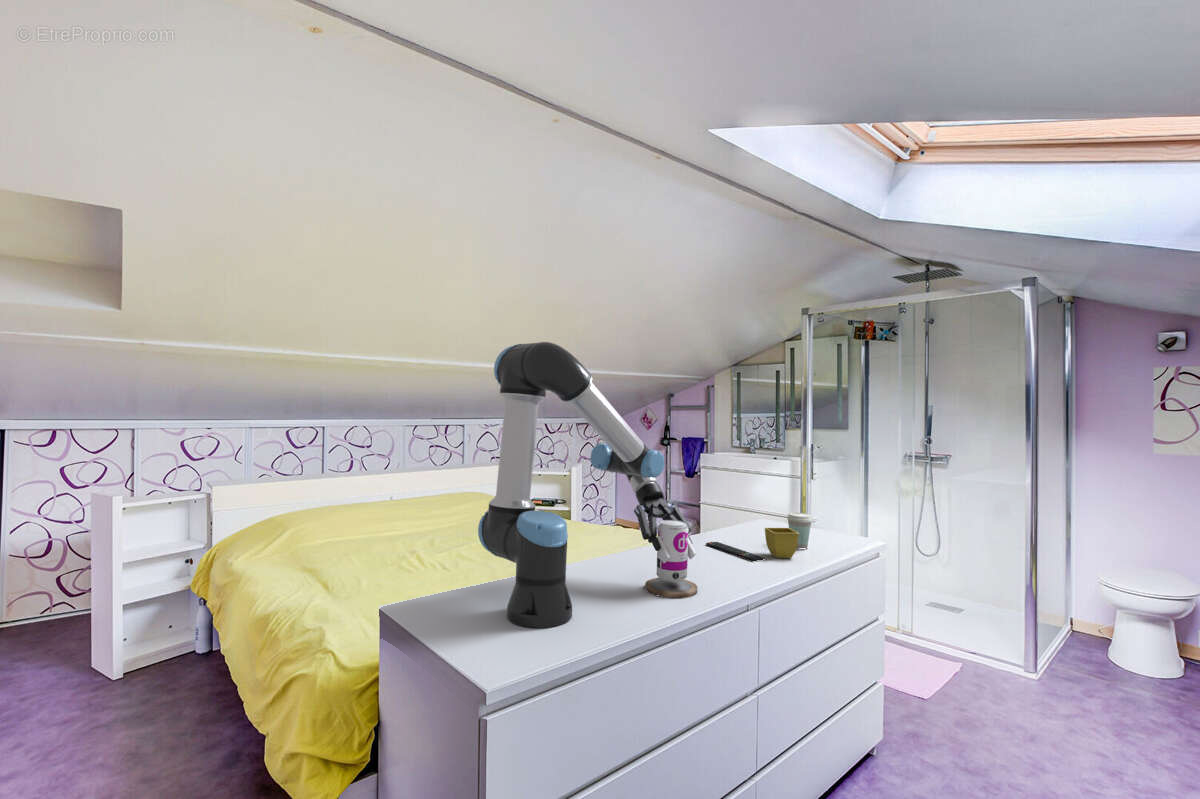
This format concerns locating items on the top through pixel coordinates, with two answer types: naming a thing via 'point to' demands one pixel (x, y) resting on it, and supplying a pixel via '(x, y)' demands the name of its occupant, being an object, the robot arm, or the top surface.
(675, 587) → the walnut pad
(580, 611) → the top surface
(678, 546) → the supplement can
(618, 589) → the top surface
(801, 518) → the coffee cup
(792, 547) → the flower pot
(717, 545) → the remote control
